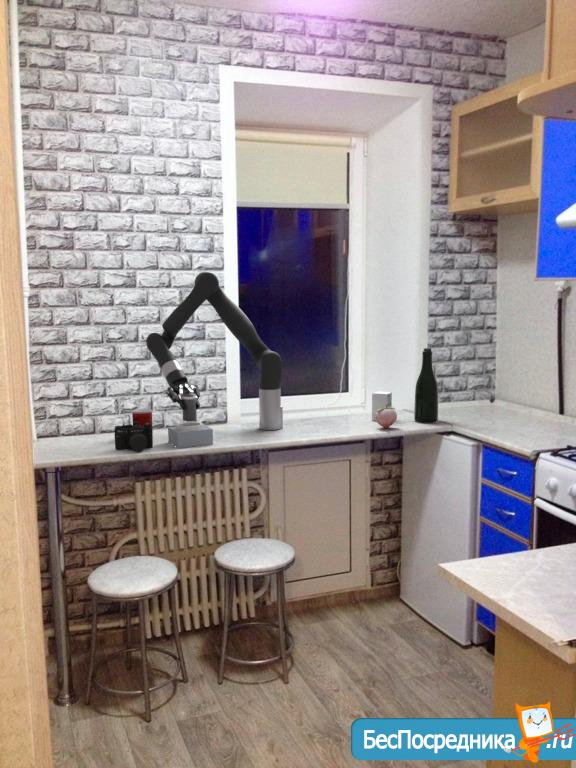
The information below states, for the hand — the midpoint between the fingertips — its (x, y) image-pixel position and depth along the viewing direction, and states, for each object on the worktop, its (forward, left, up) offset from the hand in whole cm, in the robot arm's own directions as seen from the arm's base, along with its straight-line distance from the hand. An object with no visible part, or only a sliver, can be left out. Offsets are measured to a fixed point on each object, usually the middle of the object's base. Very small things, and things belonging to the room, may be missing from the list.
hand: (192, 408), depth 258 cm
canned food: (+13, -23, -14) cm, 30 cm away
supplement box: (-93, -7, -14) cm, 94 cm away
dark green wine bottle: (-108, +6, -14) cm, 109 cm away
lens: (+1, -2, -5) cm, 5 cm away
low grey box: (0, -2, -14) cm, 14 cm away
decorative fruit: (-83, +10, -14) cm, 84 cm away
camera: (+22, -1, -14) cm, 27 cm away
